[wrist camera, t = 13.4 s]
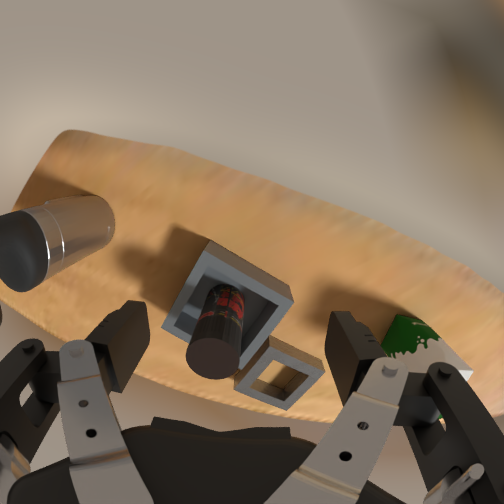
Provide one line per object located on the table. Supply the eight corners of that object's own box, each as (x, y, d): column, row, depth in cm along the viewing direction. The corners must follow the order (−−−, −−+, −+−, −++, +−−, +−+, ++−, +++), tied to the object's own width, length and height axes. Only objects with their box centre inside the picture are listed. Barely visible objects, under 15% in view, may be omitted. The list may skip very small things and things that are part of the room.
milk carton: (374, 349, 47) (417, 423, 27) (395, 308, 44) (454, 373, 25) (406, 354, 47) (452, 419, 28) (427, 316, 45) (485, 374, 26)
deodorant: (246, 316, 43) (242, 378, 29) (209, 319, 44) (192, 379, 29) (242, 282, 42) (235, 336, 27) (203, 285, 42) (180, 338, 28)
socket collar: (234, 377, 48) (233, 389, 45) (268, 334, 46) (269, 346, 42) (285, 398, 50) (286, 410, 46) (321, 360, 47) (325, 371, 44)
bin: (171, 309, 44) (160, 327, 39) (210, 239, 41) (203, 250, 35) (243, 348, 46) (241, 369, 41) (289, 285, 43) (294, 302, 37)
